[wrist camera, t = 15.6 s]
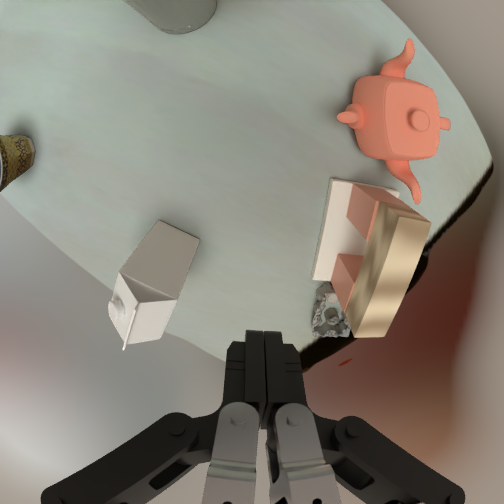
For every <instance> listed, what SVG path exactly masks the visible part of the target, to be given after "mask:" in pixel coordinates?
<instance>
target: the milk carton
mask: <svg viewBox="0 0 504 504" xmlns="http://www.w3.org/2000/svg"><path fill="white" fill-rule="evenodd" d="M199 242H200V240H199V239H197V238H195V237H193V236H191V235H189V234H187V233H185V232H183V231H181V230H178V229H176V228H174V227H172V226H170V225H168V224H166V223H164V222H162V221H160V220H158V222H157V223H156V224H155V225H154V226H153V228H152V229H151V230H150V231H149V233H148V234H147V235H146V236H145V238H144V239H143V240H142V241H141V243H140V244H139V245H138V247H137V248H136V249H135V251H134V252H133V253H132V254H131V256H130V257H129V258H128V260H127V261H126V262H125V264H124V265H123V267H122V268H121V269H120V271H119V273H118V276H117V280H116V284H115V288H114V292H113V296H112V301H110V302H109V305H108V310H109V317H110V318H111V320H112V322H113V324H114V326H115V327H116V329H117V331H118V332H119V334H120V336H121V338H122V339H123V341H124V346H123V349H122V350H123V351H124V350H125V347H126V345H127V344H133V343H138V342H145V341H151V340H156V339H160V338H161V336H162V334H163V332H164V329H165V327H166V325H167V323H168V320H169V318H170V316H171V314H172V312H173V310H174V307H175V305H176V303H177V301H178V298H179V295H180V292H181V289H182V287H183V284H184V281H185V278H186V276H187V273H188V270H189V268H190V265H191V262H192V260H193V257H194V254H195V252H196V249H197V247H198V244H199Z"/></svg>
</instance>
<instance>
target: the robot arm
mask: <svg viewBox="0 0 504 504" xmlns="http://www.w3.org/2000/svg"><path fill="white" fill-rule="evenodd" d="M123 1H124V2H126V3H127V4H128V5H130V6H131V7H132V8H134V9H135V10H136V11H138V12H139V13H140V14H141V15H143V16H144V17H145V18H146V19H147V20H149V21H150V22H151V23H152V24H154V25H155V26H156V27H157V28H159V29H160V30H161V31H164V32H166V33H170V34H182V33H187V32H191V31H194V30H196V29H198V28H200V27H201V26H203V25H204V24H205V23H206V22H207V21H208V20H209V19H210V18H211V17H212V15H213V14H214V12H215V9H216V4H217V3H216V0H123ZM260 426H261V429H267V440H266V444H265V446H266V455H267V463H268V471H269V479H270V490H269V497H270V504H341V500H340V495H339V491H338V487H337V483H336V481H337V482H338V483H340V484H341V485H342V486H344V487H345V488H346V489H348V490H349V491H350V492H351V493H353V494H354V495H356V496H357V497H358V498H359V499H361V500H362V501H363V502H365V503H366V504H464V502H465V493H464V491H463V489H462V488H461V487H460V486H458V485H456V484H455V483H453V482H451V481H450V480H448V479H447V478H445V477H444V476H442V475H440V474H439V473H437V472H436V471H434V470H433V469H431V468H430V467H428V466H427V465H425V464H424V463H422V462H421V461H419V460H418V459H416V458H415V457H414V456H412V455H411V454H409V453H407V452H406V451H405V450H404V449H402V448H401V447H399V446H398V445H396V444H395V443H393V442H392V441H391V440H390V439H388V438H387V437H386V436H384V435H383V434H382V433H380V432H379V431H377V430H376V429H375V428H373V427H372V426H371V425H370V424H368V423H367V422H366V421H364V420H363V419H361V418H359V417H356V416H347V417H344V418H342V419H341V420H339V421H336V420H331V419H327V418H323V417H320V416H318V415H316V414H314V413H313V412H312V411H311V410H310V408H309V407H308V405H307V401H306V395H305V388H304V382H303V376H302V369H301V365H300V357H299V352H298V351H297V350H296V348H295V347H294V345H293V344H283V340H282V333H281V332H277V331H264V333H263V331H255V330H246V334H245V342H238V341H233V342H232V343H231V345H230V346H229V348H228V349H227V357H226V369H225V381H224V393H223V402H222V404H221V406H220V408H219V409H218V410H217V411H216V412H214V413H213V414H210V415H207V416H203V417H198V418H191V417H190V416H188V415H186V414H184V413H178V412H175V413H170V414H167V415H165V416H163V417H162V418H161V419H159V420H158V421H156V422H155V423H154V424H152V425H151V426H149V427H148V428H146V429H145V430H143V431H142V432H140V433H139V434H138V435H136V436H134V437H133V438H132V439H130V440H129V441H127V442H126V443H124V444H122V445H121V446H119V447H118V448H116V449H115V450H113V451H112V452H110V453H108V454H107V455H105V456H103V457H102V458H100V459H98V460H97V461H95V462H93V463H92V464H90V465H88V466H87V467H85V468H83V469H82V470H80V471H78V472H76V473H74V474H72V475H71V476H69V477H67V478H65V479H63V480H62V481H60V482H58V483H56V484H54V485H52V486H50V487H48V488H46V489H45V490H44V491H43V492H42V494H41V504H145V503H147V502H149V501H150V500H151V499H153V498H154V497H156V496H157V495H159V494H160V493H162V492H163V491H164V490H166V489H167V488H168V487H170V486H171V485H172V484H174V483H175V482H176V481H177V480H179V479H180V478H182V477H183V476H184V475H185V474H187V473H188V472H189V471H190V470H192V469H193V468H194V467H195V466H197V465H198V464H199V463H205V462H210V461H211V462H210V465H209V468H208V471H207V477H206V482H205V488H204V494H203V499H202V504H254V497H255V485H256V456H257V444H258V431H259V427H260Z"/></svg>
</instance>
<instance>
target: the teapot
mask: <svg viewBox="0 0 504 504" xmlns="http://www.w3.org/2000/svg"><path fill="white" fill-rule="evenodd" d="M414 52H415V49H414V43H413V41H412V40H411V39H407V41H406V44H405V47H404V50H403V52H402V53H401V54H400V55H399V56H397V57H395V58H392V59H390V60H388V61H387V62H386V63H384V65H383V66H382V68H381V70H380V73H379V75H374V76H364V77H361V78H359V79H358V80H357V82H356V83H355V86H354V90H353V97H352V104H350V105H348V106H347V107H346V110H345V112H342V113H339V114H338V115H337V120H338V121H340V122H342V123H347V124H348V126H349V127H351V128H353V129H354V131H355V135H356V139H357V142H358V145H359V148H360V150H361V151H362V152H363V153H364V154H365V155H366V156H368V157H371V158H375V159H382V160H384V161H385V163H386V165H387V167H388V169H389V171H390V172H391V174H393V175H394V176H395V177H396V178H397V179H399V180H401V181H402V182H404V183H405V184H406V185H407V186H408V187H409V189H410V191H411V193H412V197H413V200H414V202H415V204H417V205H418V204H419V203H420V200H421V191H420V186H419V184H418V182H417V180H416V178H415V177H414V175H413V174H412V172H411V170H410V166H409V160H420V159H426V158H430V157H432V156H434V155H435V154H436V152H437V149H438V145H439V135H440V129H443V130H449V129H450V120H449V119H448V118H444V117H439V109H438V103H437V99H436V96H435V93H434V91H433V90H432V89H431V88H429V87H427V86H426V85H424V84H421V83H419V82H416V81H413V80H409V79H405V78H404V75H405V70H406V68H407V66H408V65H409V64H410V63H411V61H412V59H413V57H414Z"/></svg>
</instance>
